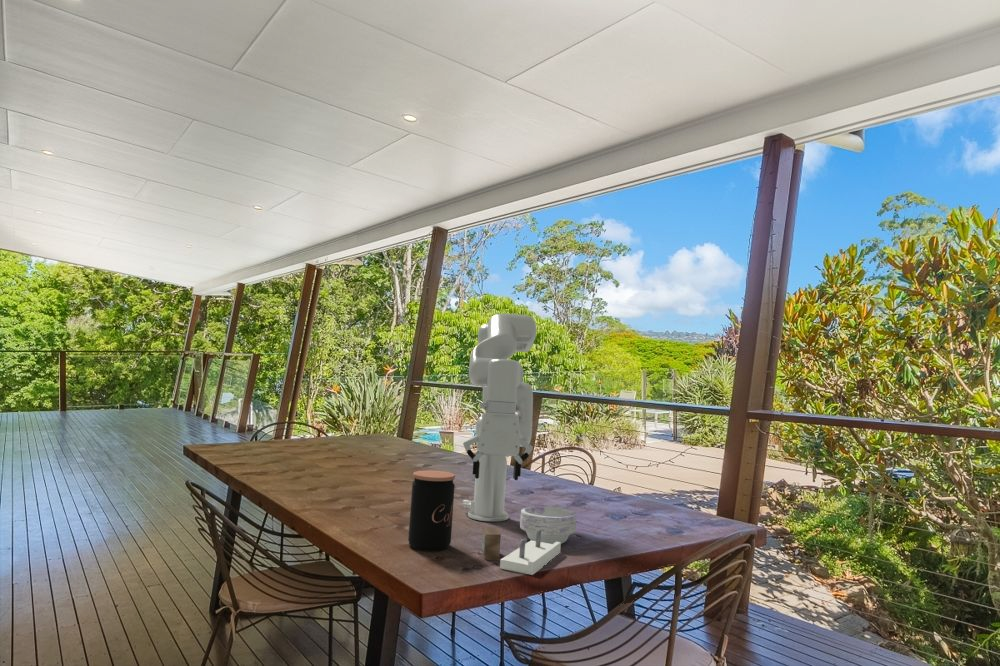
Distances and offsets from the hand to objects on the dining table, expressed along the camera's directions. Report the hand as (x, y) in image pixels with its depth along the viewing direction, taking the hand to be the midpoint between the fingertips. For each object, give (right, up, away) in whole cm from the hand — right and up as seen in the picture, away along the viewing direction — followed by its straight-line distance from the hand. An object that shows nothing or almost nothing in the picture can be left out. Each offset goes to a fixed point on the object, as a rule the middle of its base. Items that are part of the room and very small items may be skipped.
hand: (496, 478), depth 153 cm
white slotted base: (+9, -19, -3) cm, 21 cm away
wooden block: (-1, -19, -1) cm, 19 cm away
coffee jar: (-17, -18, +3) cm, 25 cm away
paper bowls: (+14, -21, +16) cm, 30 cm away
